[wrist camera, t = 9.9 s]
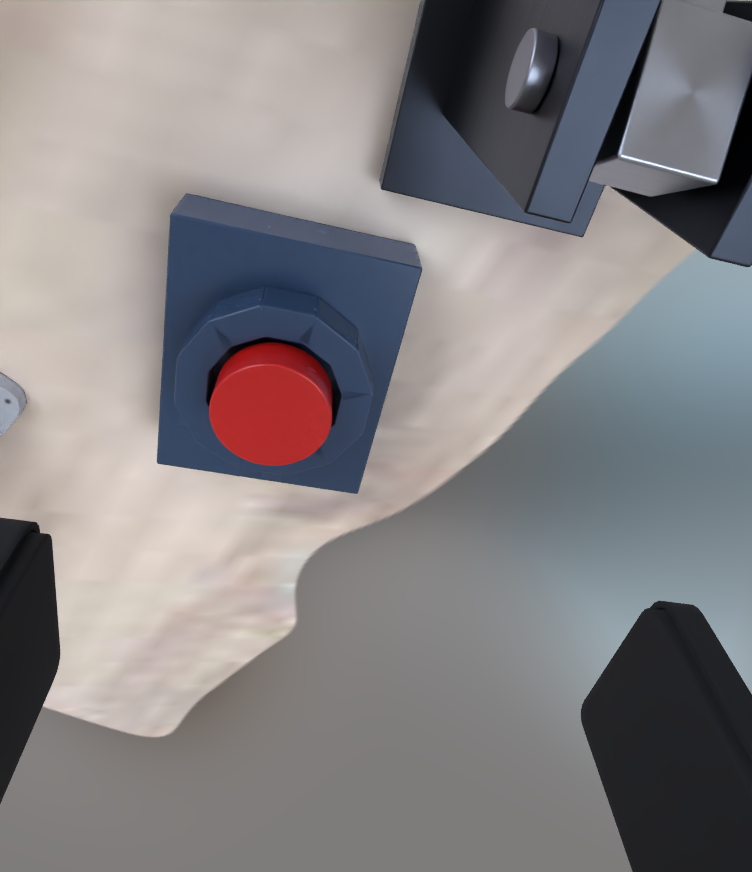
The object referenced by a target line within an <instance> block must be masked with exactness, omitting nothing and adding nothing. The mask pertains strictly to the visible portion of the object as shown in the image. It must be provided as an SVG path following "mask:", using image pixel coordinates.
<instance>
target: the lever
mask: <svg viewBox="0 0 752 872" xmlns="http://www.w3.org/2000/svg"><path fill="white" fill-rule="evenodd" d="M726 1H727V0H662V2H661V4H660V7H659V9H658V11H657V14H656V16H655V19H654V21H653V24H652V26H651V29H650V31H649V33H648V36H647V38H646V41H645V43H644V46H643V48H642V51H641V53H640V56H639V58H638V60H637V63H636V65H635V68H634V70H633V73H632V75H631V78H630V80H629V83H628V85H627V87H626V90H625V92H624V95H623V97H622V100H621V102H620V105H619V107H618V110H617V112H616V114H615V117H614V119H613V122H612V124H611V127H610V129H609V132H608V134H607V137H606V139H605V141H604V144H603V146H602V149H601V151H600V154H599V156H598V159H597V161H596V164H595V166H594V168H593V171H592V173H591V176H590V178H589V181H591V182H595V183H599V184H603V185H607V186H611V187H615V188H618V189H622V190H626V191H630V192H634V193H638V194H642V195H646V196H650V197H652V196H658V195H663V194H668V193H674V192H679V191H684V190H689V189H695V188H700V187H705V186H711V185H716V184H717V183H718V182H719V180H720V178H721V174H722V171H723V168H724V165H725V162H726V158H727V155H728V152H729V149H730V146H731V142H732V139H733V136H734V133H735V130H736V127H737V123H738V120H739V117H740V114H741V111H742V107H743V104H744V101H745V98H746V95H747V91H748V88H749V85H750V82H751V79H752V22H750V21H747V20H744V19H741V18H738V17H735V16H731V15H728V14H725V13H723V11H724V8H725V4H726Z"/></svg>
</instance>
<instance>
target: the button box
mask: <svg viewBox="0 0 752 872" xmlns="http://www.w3.org/2000/svg"><path fill="white" fill-rule="evenodd" d="M421 272H422V266H421V263H420V260H419V256H418V253H417V250H416V246H415V245H414V244H409V243H405V242H400V241H396V240H391V239H387V238H382V237H378V236H374V235H369V234H365V233H360V232H356V231H351V230H347V229H342V228H338V227H333V226H329V225H325V224H320V223H316V222H311V221H307V220H302V219H298V218H293V217H289V216H285V215H280V214H276V213H271V212H267V211H262V210H258V209H253V208H249V207H245V206H240V205H236V204H231V203H227V202H222V201H218V200H213V199H209V198H205V197H200V196H196V195H191V194H185V196H184V197H183V198H182V200H181V201H180V202H179V204H178V205H177V206H176V208H175V209H174V210H173V211H172V213H171V214H170V229H169V247H168V266H167V284H166V303H165V321H164V340H163V358H162V377H161V395H160V413H159V432H158V450H157V463H158V464H164V465H170V466H177V467H183V468H190V469H197V470H203V471H210V472H216V473H223V474H229V475H236V476H243V477H249V478H256V479H262V480H269V481H275V482H282V483H289V484H295V485H302V486H308V487H315V488H321V489H328V490H335V491H341V492H348V493H354V494H357V493H358V491H359V487H360V484H361V481H362V477H363V474H364V470H365V467H366V463H367V460H368V456H369V453H370V449H371V446H372V442H373V439H374V435H375V432H376V428H377V425H378V422H379V418H380V415H381V411H382V408H383V404H384V401H385V397H386V394H387V390H388V387H389V383H390V380H391V376H392V373H393V369H394V366H395V363H396V359H397V356H398V352H399V349H400V345H401V342H402V338H403V335H404V331H405V328H406V324H407V321H408V317H409V314H410V311H411V307H412V304H413V300H414V297H415V293H416V290H417V286H418V283H419V279H420V276H421ZM267 342H276V343H283V344H287V345H291V346H294V347H297V348H299V349H301V350H303V351H305V352H306V353H308V354H309V355H311V356H312V357H313V358H314V359H316V360H317V361H318V362H319V363H320V365H321V366H322V367H323V368H324V370H325V371H326V373H327V375H328V377H329V379H330V382H331V386H332V424H331V429H330V432H329V434H328V436H327V438H326V440H325V441H324V443H323V444H322V445H321V447H320V448H319V449H318V450H317V451H315V452H314V453H313V454H312V455H310V456H309V457H307V458H305V459H303V460H301V461H298V462H295V463H292V464H287V465H280V466H269V465H261V464H256V463H253V462H250V461H247V460H245V459H242V458H240V457H239V456H237V455H235V454H234V453H232V452H231V451H230V450H228V449H227V448H226V447H225V446H224V445H223V444H222V443H221V441H220V440H219V439H218V437H217V436H216V434H215V432H214V430H213V428H212V425H211V422H210V417H209V405H210V400H211V397H212V393H213V390H214V387H215V384H216V381H217V378H218V375H219V372H220V370H221V368H222V367H223V365H224V364H225V362H226V361H227V360H228V359H229V358H230V357H231V356H232V355H234V354H235V353H236V352H238V351H240V350H241V349H243V348H246V347H248V346H251V345H254V344H259V343H267Z"/></svg>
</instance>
